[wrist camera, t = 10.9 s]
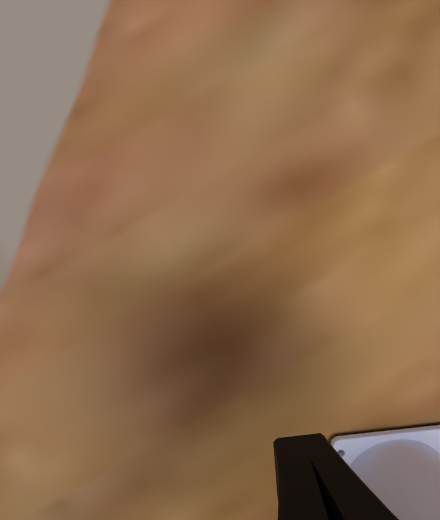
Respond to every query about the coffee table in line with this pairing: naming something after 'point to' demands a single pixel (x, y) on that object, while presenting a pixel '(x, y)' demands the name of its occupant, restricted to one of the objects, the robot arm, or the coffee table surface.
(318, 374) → the coffee table surface
